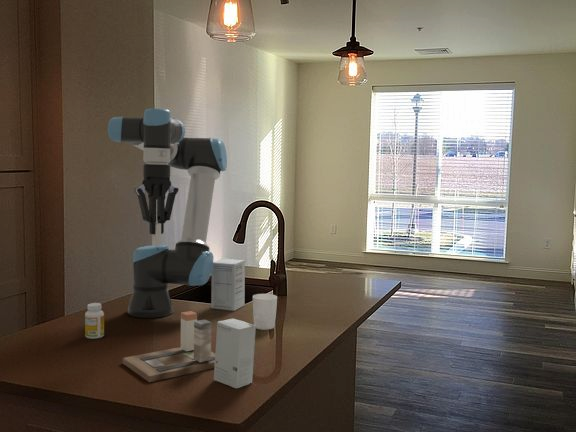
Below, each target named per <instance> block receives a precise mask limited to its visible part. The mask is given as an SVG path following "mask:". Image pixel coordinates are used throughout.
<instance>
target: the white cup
mask: <svg viewBox="0 0 576 432" xmlns="http://www.w3.org/2000/svg"><path fill="white" fill-rule="evenodd" d="M277 303H278V296H277V295H275V294H271V293H257V294H253V295H252V313H253V315H252V316H253V325H255V326H256V329H257V330H261V331H262V330H263V331H264V330H265V331H267V330H273V329H274V328H275V327H276V317H277V316H276V315H277V305H278V304H277Z"/></svg>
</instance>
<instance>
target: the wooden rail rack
mask: <svg viewBox="0 0 576 432" xmlns="http://www.w3.org/2000/svg"><path fill="white" fill-rule="evenodd" d="M122 364H123V365H124V366H126V367H127V368H128V369H130V370H131V371H133V372H134V373H135V374H137V375H138V376H140V377H141V378H142V379H144V380H145V381H147V382H148V383H151V382H152V383H153V382H157V381H161V380H165V379H171V378H176V377H179V376H183V375H188V374H195V373H198V372H202V371H206V370H212V369H214V367H215V352H214V351H212V321H209V320H207V319H201V320H200V319H199V320H197V321H194V350H191V351H185V350H183V349H181V346H178V347H173V348H168V349H163V350H157V351H153V352H148V353H141V354H137V355H132V356H125V357H123V358H122Z"/></svg>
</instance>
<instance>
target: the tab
mask: <svg viewBox="0 0 576 432" xmlns="http://www.w3.org/2000/svg"><path fill="white" fill-rule="evenodd" d="M194 321H198V313H197V312H195V311H192V310H190V311H189V310H188V311H184V312H183V311H182V312H180V347H181V349H183V350H185V351H191V350H194Z"/></svg>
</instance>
